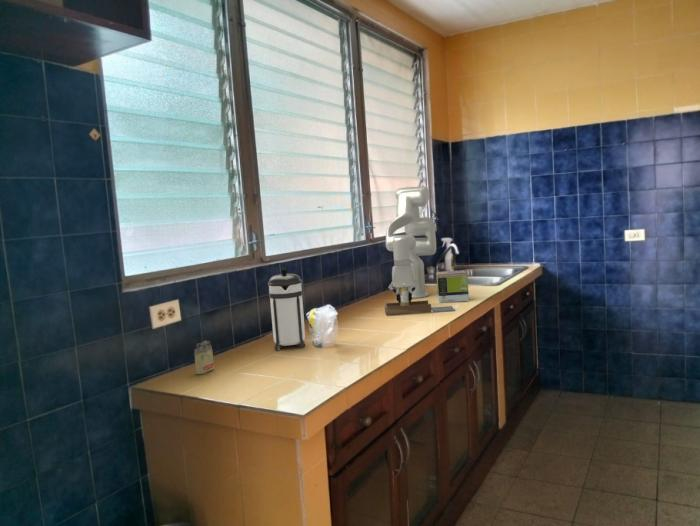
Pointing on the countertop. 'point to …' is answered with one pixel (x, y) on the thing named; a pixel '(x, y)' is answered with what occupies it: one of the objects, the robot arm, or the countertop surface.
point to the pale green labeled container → (204, 358)
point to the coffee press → (287, 309)
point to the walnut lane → (407, 308)
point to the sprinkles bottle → (404, 295)
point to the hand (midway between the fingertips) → (404, 301)
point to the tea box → (452, 286)
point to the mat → (442, 309)
